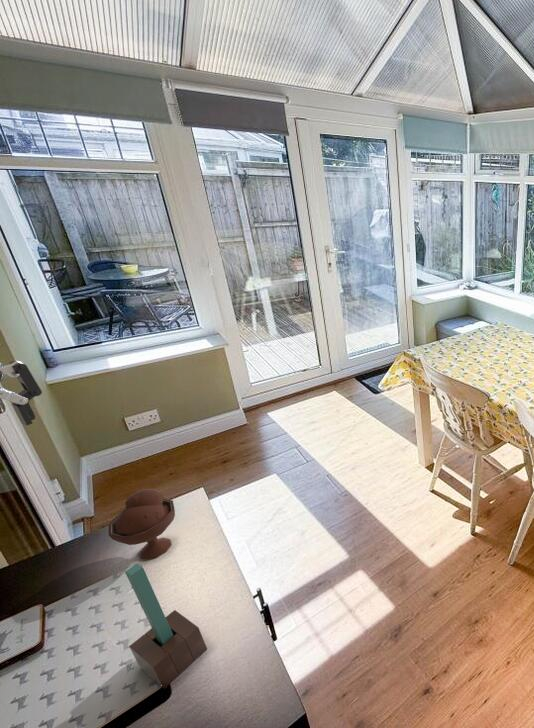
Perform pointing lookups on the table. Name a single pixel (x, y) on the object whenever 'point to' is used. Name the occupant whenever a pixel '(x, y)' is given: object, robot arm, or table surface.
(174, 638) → the holder
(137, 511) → the ice cream bowl
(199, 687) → the table surface
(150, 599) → the stick
